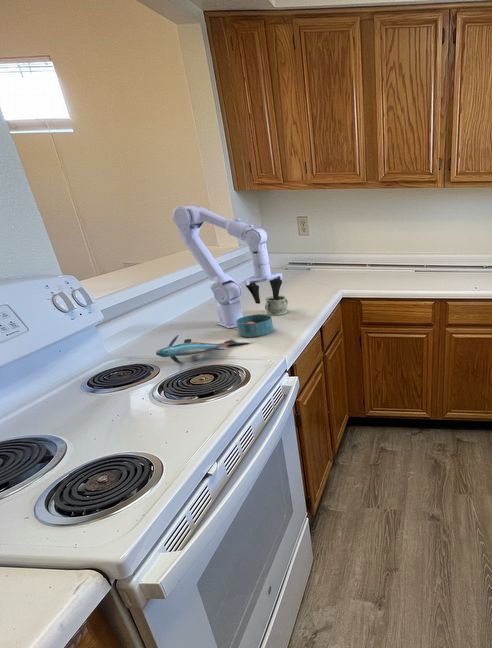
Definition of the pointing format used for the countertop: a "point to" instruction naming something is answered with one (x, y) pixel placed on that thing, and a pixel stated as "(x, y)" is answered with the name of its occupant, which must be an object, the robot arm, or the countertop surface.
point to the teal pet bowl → (255, 325)
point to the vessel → (276, 305)
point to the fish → (189, 348)
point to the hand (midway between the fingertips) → (267, 301)
